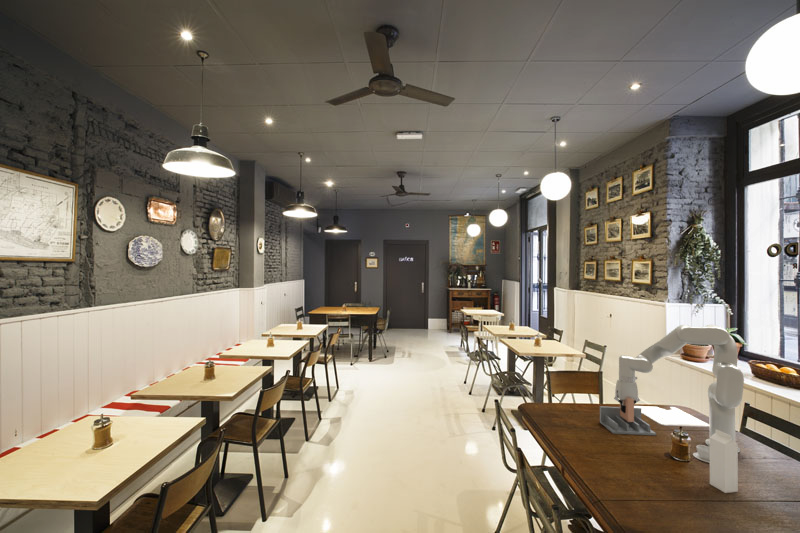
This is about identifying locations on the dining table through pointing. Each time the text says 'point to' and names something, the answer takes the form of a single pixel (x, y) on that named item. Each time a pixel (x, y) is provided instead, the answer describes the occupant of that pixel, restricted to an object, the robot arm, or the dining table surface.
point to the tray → (671, 416)
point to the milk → (723, 462)
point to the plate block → (628, 410)
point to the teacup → (702, 453)
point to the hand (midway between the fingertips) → (626, 411)
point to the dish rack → (623, 422)
